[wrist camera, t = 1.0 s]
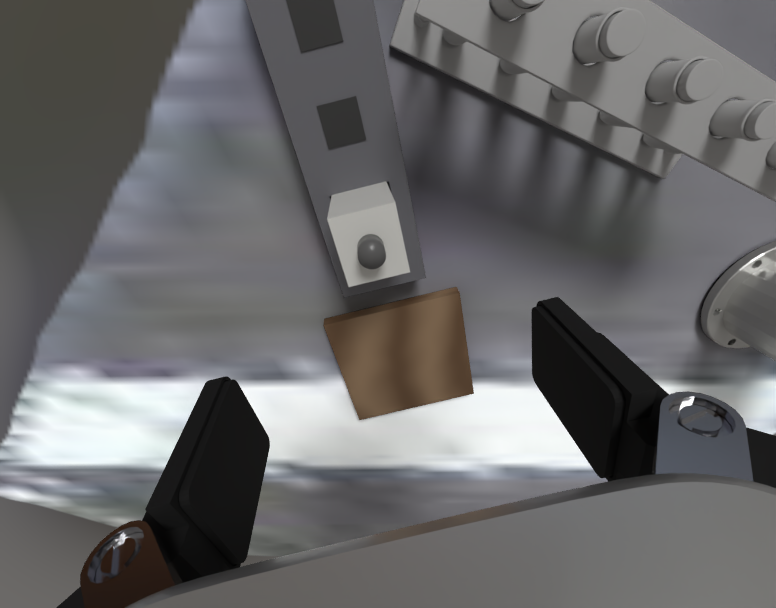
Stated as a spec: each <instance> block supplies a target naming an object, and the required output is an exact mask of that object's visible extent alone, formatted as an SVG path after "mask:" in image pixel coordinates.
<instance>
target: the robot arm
mask: <svg viewBox="0 0 776 608" xmlns="http://www.w3.org/2000/svg"><path fill="white" fill-rule="evenodd" d="M701 325H702V329H703V331H704V333H705V334H706V335H707V336H708V337H709V338H710V339H711V340H713V341H714V342H716V343H717V344H719V345H721V346H724V347H727V348H736V349H738V348H748V347H753V348H755V349H756V350H758V351H759V352H761V353H763V354H764V355H766V356H768V357H769V358H771V359H772V360H774V361H776V241H774V242H772V243H769V244H767V245H764V246H762V247H760V248H758V249H756V250H754V251H752V252H750V253H749V254H747V255H746V256H744V257H743V258H741V259H740V260H739V261H737V262H736V263H735V264H734V265H732V266H731V267H730V268H729V269H728V270H727V271H726V272H725V273H724V274H723V275H722V276H721V277H720V278H719V279H718V280H717V282H716V283H715V284H714V286H713V287H712V289H711V290H710V292H709V294H708V296H707V297H706V299H705V301H704V305H703V308H702V311H701ZM532 375H533V379H534V381H535V383H536V385H537V387H538V388H539V390H540V391H541V392H542V394H543V395H544V397H545V398H546V400H547V401H548V403H549V404H550V406H551V407H552V409H553V410H554V412H555V413H556V415H557V416H558V418H559V419H560V421H561V422H562V424H563V425H564V426H565V428H566V429H567V431H568V432H569V434H570V435H571V437H572V438H573V440H574V441H575V443H576V444H577V446H578V447H579V449H580V450H581V452H582V453H583V455H584V456H585V458H586V459H587V461H588V462H589V463H590V465H591V466H592V468H593V469H594V471H595V472H596V474H597V475H598V476H599V477H600V478H606V479H607V480H608V482H604V483H599V484H595V485H590V486H585V487H580V488H576V489H571V490H566V491H561V492H557V493H552V494H548V495H543V496H539V497H535V498H530V499H526V500H521V501H517V502H513V503H508V504H504V505H500V506H495V507H491V508H486V509H482V510H478V511H473V512H469V513H465V514H460V515H456V516H452V517H447V518H443V519H439V520H435V521H430V522H426V523H422V524H417V525H413V526H409V527H405V528H400V529H396V530H392V531H388V532H383V533H379V534H375V535H371V536H366V537H362V538H358V539H354V540H349V541H345V542H341V543H337V544H333V545H329V546H324V547H320V548H316V549H312V550H308V551H304V552H300V553H295V554H291V555H287V556H283V557H279V558H275V559H270V560H266V561H263V562H259V563H254V564H250V565H246V566H243V567H240V564H241V563H243V562H244V561H245V559H246V557H247V554H248V549H249V544H250V540H251V535H252V530H253V525H254V520H255V515H256V510H257V506H258V501H259V496H260V491H261V486H262V481H263V477H264V472H265V467H266V462H267V457H268V452H269V447H270V442H269V437H268V435H267V433H266V431H265V430H264V428H263V426H262V424H261V423H260V421H259V419H258V418H257V416H256V414H255V412H254V411H253V409H252V407H251V405H250V404H249V402H248V400H247V398H246V397H245V395H244V393H243V391H242V390H241V388H240V386H239V384H238V383H237V381H236V380H231V379H230V378H229V377H222V378H218V379H213V380H209V381H207V382H206V383H205V385H204V387H203V389H202V391H201V394H200V396H199V398H198V400H197V402H196V404H195V406H194V408H193V410H192V412H191V415H190V417H189V419H188V421H187V423H186V425H185V427H184V429H183V431H182V433H181V436H180V438H179V440H178V442H177V444H176V446H175V448H174V450H173V452H172V454H171V456H170V459H169V461H168V463H167V465H166V467H165V469H164V471H163V473H162V475H161V477H160V480H159V482H158V484H157V486H156V488H155V490H154V492H153V494H152V496H151V498H150V501H149V503H148V505H147V507H146V509H145V510H146V513H145V516H144V518H143V520H142V521H141V520H137V521H131V522H128V523H126V524H124V525H121V526H120V527H118V528H117V529H115V530H114V531H112V532H110V533H109V534H108V535H107V536H106V537H105V538H104V539H103V540H101V541H100V542H99V544H98V545H97V546H96V547H95V548H94V549H93V551H92V552H91V553H90V555H89V557H88V558H87V560H86V561H85V563H84V566H83V568H82V571H81V574H80V586H81V587H80V588H79V589H77V590H76V591H75V592H74V593H73V594H72V595H70V596H69V597H68V598H67V599H66V600H65V601H64V602H63V603H61V604H60V605H59V606H58V607H57V608H776V436H774V435H771V434H767V433H764V432H760V431H757V430H753V429H750V428H746V426H745V423H744V421H743V418H742V417H741V416H740V415H739V414H738V413H737V411H736V410H735V409H733V408H732V407H730V406H729V405H728V404H726V403H725V402H722V401H720V400H718V399H716V398H714V397H711V396H708V395H705V394H701V393H695V392H676V393H673V394H670V395H669V394H668V393H667V392H665V391H664V390H663V389H662V388H661V387H660V386H659V385H658V384H657V383H656V382H654V381H653V380H652V379H651V378H650V377H649V376H648V375H647V374H646V373H645V372H643V371H642V370H641V369H640V368H639V367H638V366H637V365H636V364H635V363H634V362H632V361H631V360H630V359H629V358H628V357H627V356H626V355H625V354H624V353H623V352H621V351H620V350H619V349H618V348H617V347H616V346H615V345H614V344H613V343H612V342H610V341H609V340H608V339H607V338H606V337H605V336H604V335H602V334H601V333H598V332H596V331H595V330H594V329H592V328H591V327H590V326H589V325H588V324H587V323H586V322H585V321H584V320H583V319H582V318H581V317H579V316H578V315H577V314H576V313H575V312H574V311H573V310H572V309H571V308H570V307H569V306H568V305H566V304H565V303H564V302H563V301H562V300H561V299H560V298H558V297H555V298H551V299H547V300H543V301H539V302H538V303H537V307H534V308H532Z"/></svg>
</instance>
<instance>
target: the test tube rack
mask: <svg viewBox="0 0 776 608" xmlns="http://www.w3.org/2000/svg"><path fill="white" fill-rule="evenodd" d="M520 15H521V16H520ZM518 16H520V17H518ZM593 16H598V17H595V18H592V19H589V20H587V19H588V18H589V17H593ZM516 17H518V18H517V19H516V20H515V19H514V18H516ZM585 20H586V21H585ZM389 46H390V47H391V48H393V49H395V50H397V51H399V52H401V53H403V54H406V55H408V56H410V57H412V58H414V59H416V60H418V61H420V62H422V63H424V64H426V65H428V66H430V67H432V68H434V69H437V70H439V71H441V72H443V73H445V74H447V75H449V76H451V77H453V78H455V79H457V80H459V81H461V82H463V83H465V84H467V85H469V86H472V87H474V88H476V89H478V90H480V91H482V92H484V93H486V94H488V95H490V96H492V97H494V98H496V99H498V100H500V101H502V102H504V103H507V104H509V105H511V106H513V107H515V108H517V109H519V110H521V111H523V112H525V113H527V114H529V115H531V116H533V117H535V118H537V119H539V120H542V121H544V122H546V123H548V124H550V125H552V126H554V127H556V128H558V129H560V130H562V131H564V132H566V133H568V134H570V135H572V136H574V137H576V138H579V139H581V140H583V141H585V142H587V143H589V144H591V145H593V146H595V147H597V148H599V149H601V150H603V151H605V152H607V153H609V154H611V155H614V156H616V157H618V158H620V159H622V160H624V161H626V162H628V163H630V164H632V165H634V166H636V167H638V168H640V169H642V170H644V171H646V172H648V173H650V174H652V175H655V176H657V177H659V178H663V179H665V178H666V177H667V175H668V174H669V173H670V171H671V170H672V168H673V167H674V166H675V164H676V163H677V161H678V160H679V158H680V157H681V156H682V154H684V155H686V156H688V157H690V158H692V159H694V160H696V161H698V162H700V163H702V164H704V165H706V166H707V167H709V168H711V169H713V170H715V171H717V172H719V173H721V174H723V175H725V176H727V177H729V178H731V179H732V180H734V181H736V182H738V183H740V184H742V185H744V186H746V187H748V188H750V189H752V190H754V191H755V192H757V193H759V194H761V195H763V196H765V197H767V198H769V199H771V200H773V201H775V202H776V82H775V81H773V80H772V79H770V78H769V77H767V76H766V75H764V74H762V73H761V72H759V71H758V70H756V69H755V68H753V67H752V66H750V65H749V64H747V63H745V62H744V61H742V60H741V59H739V58H738V57H736V56H735V55H733V54H732V53H730V52H728V51H727V50H725V49H724V48H722V47H721V46H719V45H718V44H716V43H714V42H713V41H711V40H710V39H708V38H707V37H705V36H704V35H702V34H701V33H699V32H697V31H696V30H694V29H693V28H691V27H690V26H688V25H687V24H685V23H684V22H682V21H680V20H679V19H677V18H676V17H674V16H673V15H671V14H670V13H668V12H667V11H665V10H663V9H662V8H660V7H659V6H657V5H656V4H654V3H653V2H651V1H650V0H404V1H403V4H402V7H401V10H400V14H399V17H398V20H397V23H396V26H395V29H394V32H393V35H392V39H391V42H390V45H389ZM665 60H672V61H671V62H662V61H665ZM596 62H597V63H596ZM661 62H662V63H661ZM594 63H595V64H594ZM733 98H735V99H738V100H728V99H733ZM772 168H773V169H772Z"/></svg>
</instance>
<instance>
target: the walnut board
mask: <svg viewBox="0 0 776 608" xmlns="http://www.w3.org/2000/svg"><path fill="white" fill-rule="evenodd" d="M324 328H325V331H326V333H327V336H328V338H329V341H330V344H331V346H332V349H333V352H334V354H335V357H336V360H337V362H338V365H339V367H340V370H341V373H342V375H343V378H344V381H345V383H346V386H347V388H348V391H349V394H350V396H351V399H352V402H353V404H354V407H355V410H356V412H357V415H358V417H359V420H362V419H366V418H370V417H375V416H379V415H383V414H388V413H392V412H396V411H401V410H405V409H409V408H413V407H418V406H422V405H426V404H431V403H435V402H439V401H444V400H448V399H452V398H457V397H461V396H465V395H469V394H474V392H473V385H472V378H471V370H470V363H469V356H468V349H467V342H466V335H465V328H464V321H463V314H462V307H461V300H460V293H459V291H458V289H457V287H454V288H449V289H445V290H441V291H437V292H433V293H429V294H425V295H421V296H416V297H412V298H408V299H404V300H400V301H396V302H392V303H387V304H383V305H379V306H375V307H371V308H367V309H363V310H359V311H354V312H350V313H346V314H342V315H338V316H334V317H330V318H325V319H324Z"/></svg>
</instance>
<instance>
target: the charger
mask: <svg viewBox="0 0 776 608" xmlns="http://www.w3.org/2000/svg"><path fill="white" fill-rule="evenodd" d="M327 220H328V224H329V227H330V230H331V233H332V236H333V239H334V242H335V246H336V249H337V252H338V255H339V258H340V261H341V265H342V268H343V271H344V274H345V277H346V280H347V284H348V287H352V286H356V285H360V284H364V283H368V282H372V281H376V280H380V279H384V278H388V277H392V276H397V275H401V274H405V273H409V272H410V269H409V264H408V259H407V255H406V250H405V245H404V241H403V236H402V231H401V227H400V222H399V217H398V212H397V208H396V203H395V200H394V198H393V196H392V193H391V191H390V189H389V187H388V184H387V182H386V181H385V182H381V183H377V184H374V185H370V186H366V187H362V188H358V189H354V190H350V191H346V192H342V193H338V194H334V195H332V196H331V202H330V207H329V212H328V217H327Z"/></svg>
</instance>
